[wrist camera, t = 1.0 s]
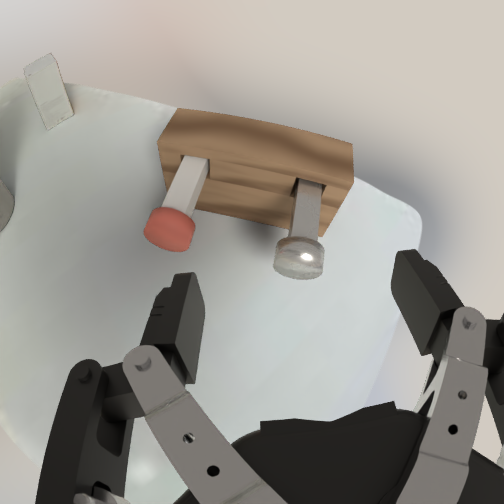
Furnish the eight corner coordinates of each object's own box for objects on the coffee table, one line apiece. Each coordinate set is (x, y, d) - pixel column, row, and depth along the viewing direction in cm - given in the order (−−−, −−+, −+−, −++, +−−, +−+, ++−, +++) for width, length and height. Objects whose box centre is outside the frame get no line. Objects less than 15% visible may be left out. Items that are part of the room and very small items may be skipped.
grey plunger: (314, 283, 28) (329, 264, 24) (269, 273, 28) (277, 252, 24) (323, 187, 33) (334, 162, 29) (286, 178, 33) (294, 151, 29)
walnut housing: (322, 237, 37) (353, 182, 27) (169, 203, 37) (157, 141, 27) (324, 200, 40) (352, 143, 30) (184, 170, 40) (178, 108, 30)
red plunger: (191, 255, 28) (186, 232, 24) (149, 245, 28) (138, 221, 24) (222, 164, 33) (223, 137, 29) (186, 158, 33) (183, 131, 29)
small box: (74, 114, 45) (57, 61, 33) (47, 131, 42) (25, 79, 31) (66, 100, 47) (50, 51, 35) (41, 115, 45) (22, 67, 33)
